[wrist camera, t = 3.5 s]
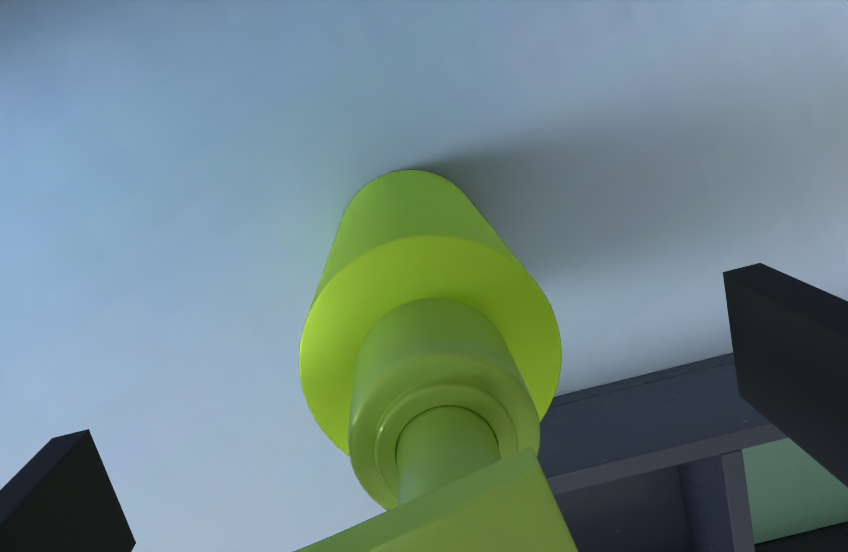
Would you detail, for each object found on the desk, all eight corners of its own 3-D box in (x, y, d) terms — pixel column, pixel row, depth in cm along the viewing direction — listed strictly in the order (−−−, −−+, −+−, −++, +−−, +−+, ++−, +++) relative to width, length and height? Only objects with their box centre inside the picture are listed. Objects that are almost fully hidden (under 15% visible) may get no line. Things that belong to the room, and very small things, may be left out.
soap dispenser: (290, 216, 27) (54, 516, 8) (448, 145, 27) (612, 276, 7) (353, 341, 29) (285, 851, 9) (503, 276, 28) (758, 667, 9)
